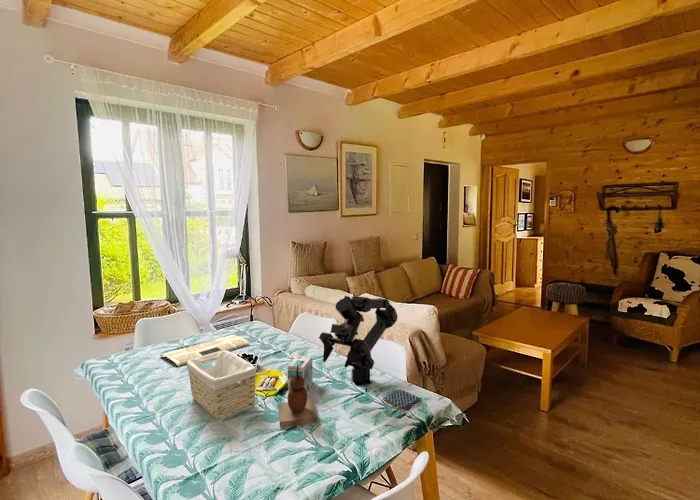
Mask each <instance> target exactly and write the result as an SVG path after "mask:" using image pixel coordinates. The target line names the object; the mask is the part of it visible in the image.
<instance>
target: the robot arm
mask: <svg viewBox="0 0 700 500" xmlns="http://www.w3.org/2000/svg"><path fill="white" fill-rule="evenodd" d="M372 309H374V310H375V313H374V314H375V319H376V321H375V323H374V324H373V326H372V328H370V330H369V331H368V332H367V334H366V336H365V337H364V338H363V339H359V338H355V337H356V336H358V335H359V333H358V329H359V327H360V324H361V322H362V323H364V322H365V317H364V315H363V314H362V313H369V312H370V311H371V310H372ZM335 310H336V311H337V312H338V313H339V315H340V316H341V317H342V319H344V322H343V323H340V324H336V323H331V328H330V332H324V331H323V332H320V334H319V337H318V339H319V340H320V342H321V343H322V344H323V356H322V357H323V359H322V362H324V363H326V362H327V360H328V359H329V357H330V355H331V353H332V352H333V350H334V347H333V346H335V345H341V346H346V347H350V348H349V349H350V350H349V351H348V352H347V356H346V357H347V358H346V360H345V362H344V363H345V364H344V368H348V367H352V369H351V380H352V382H353V384H354V385H355V386H362V385H369V384H372V381H371V370H372V369H373V368H374V364H375V360H374V359H373V358H372V353H371V352H372V350H373V349H374V347H375V346H376V344H377V343H378V341H379V340H380V338H381V337H382V335H383V334H384V332H385V331H386V330H387V329H390V328H392V327H393V326H394V325H395V324H396V322H398V321H397V320H398V313H397V310H396V308H395V307H393V306H392V305H391V303H390V301H389V299H387V298H381V297H380V298H379V297H378V298H369V297H366V296H357V295H353V296H352V297H350V296H347V295H345V296H344V297H343V298H341V299H339V300H338V301H337V302H336V304H335ZM332 334H334V336H335V337H334V336H333V335H332Z"/></svg>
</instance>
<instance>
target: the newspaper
mask: <svg viewBox="0 0 700 500" xmlns="http://www.w3.org/2000/svg"><path fill="white" fill-rule="evenodd" d="M249 345H250V341H249V340H246V339H244V338H243V337H240V336H237V335H234V334H230V335H227V336H223V337H220V338H216V339H213V340H210V341H206V342H202V343H197V344H195V345H191V346H188V347H185V348H181V349H177V350H173V351H169V352H166V353H163V354H160V355H159V357H160V356H166V357H167V359H169V360H171V361H172V362H173V363H174V364H176V365H177V366H178V367H180V365H181V366H185V365H187V361H188V360H191V359H195V358H197V357H201V356H205V355H208V354H212V353H216V352H220V351H224V350H226V351H229V352H231V351H233V350H237V349H240V348H243V347H246V346H249ZM184 364H185V365H184ZM176 365H175V366H176Z"/></svg>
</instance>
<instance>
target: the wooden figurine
mask: <svg viewBox="0 0 700 500" xmlns="http://www.w3.org/2000/svg"><path fill="white" fill-rule="evenodd" d="M290 387H291V389H290V391H289V393H288V395H287V402H288V405H289V408H290V409H291V411H293V412H301V411H302V410H303V409H304V408H305V406H306V402H307V400H308V391H306V389H305V388H304V378H303V377H302V376H299V371H298V364H297V372H296V376H294V377H292V378H291V381H290Z"/></svg>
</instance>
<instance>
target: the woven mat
mask: <svg viewBox="0 0 700 500" xmlns="http://www.w3.org/2000/svg"><path fill="white" fill-rule="evenodd" d="M420 401H421V402H422V398H421V397H419V396H418V395H417V396H416V395H415V394H412V393H411V392H409V391H408V392H407V391H406V390H404V389H401V388H400V389H397V390H396V391H394V392H391V393H389V394H388V395H386V396H383V398H382V403H385V404H386V405H390V406H392V407H394V408H396V409H399V411H402V412H405V411H408V410H409V409H410V408H412V406H413V405H414V406H415V404H416V405H417V404H419V403H421V402H420ZM410 402H411V403H410ZM414 406H413V407H414Z"/></svg>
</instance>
